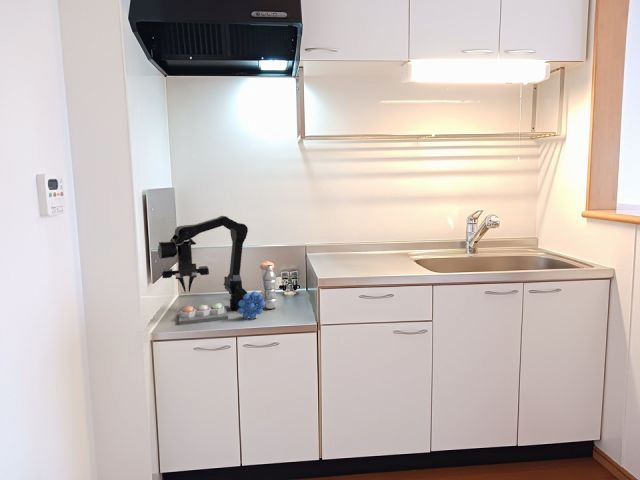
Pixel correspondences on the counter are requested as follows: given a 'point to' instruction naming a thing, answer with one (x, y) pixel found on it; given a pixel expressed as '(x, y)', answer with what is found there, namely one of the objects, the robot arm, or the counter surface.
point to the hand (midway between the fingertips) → (187, 291)
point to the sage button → (217, 306)
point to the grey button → (202, 308)
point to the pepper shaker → (263, 273)
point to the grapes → (251, 305)
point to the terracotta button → (188, 309)
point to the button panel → (202, 316)
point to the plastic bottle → (269, 287)
